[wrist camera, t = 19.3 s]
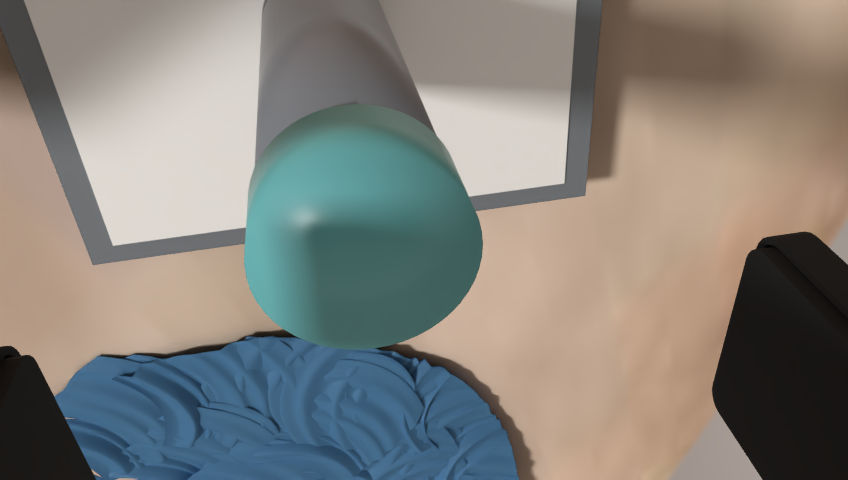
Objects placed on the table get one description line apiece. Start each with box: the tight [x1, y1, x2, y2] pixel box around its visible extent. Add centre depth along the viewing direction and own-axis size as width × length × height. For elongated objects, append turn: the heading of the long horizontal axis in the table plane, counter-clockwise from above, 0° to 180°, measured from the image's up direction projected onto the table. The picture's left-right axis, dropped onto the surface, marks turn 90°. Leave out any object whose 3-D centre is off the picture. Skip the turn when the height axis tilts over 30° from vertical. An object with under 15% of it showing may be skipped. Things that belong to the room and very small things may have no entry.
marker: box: [244, 0, 483, 350], centre depth 18 cm, size 4×4×14 cm
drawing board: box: [0, 0, 602, 265], centre depth 26 cm, size 20×12×2 cm, turn 93°
